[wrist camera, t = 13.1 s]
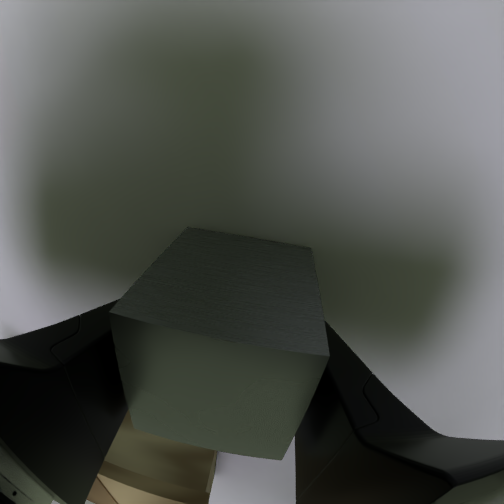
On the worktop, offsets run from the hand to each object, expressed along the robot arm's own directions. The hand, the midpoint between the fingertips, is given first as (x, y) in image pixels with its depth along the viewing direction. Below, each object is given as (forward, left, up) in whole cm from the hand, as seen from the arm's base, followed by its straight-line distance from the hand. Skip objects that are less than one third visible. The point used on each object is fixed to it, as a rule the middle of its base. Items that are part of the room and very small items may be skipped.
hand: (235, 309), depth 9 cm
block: (0, 0, -1) cm, 1 cm away
